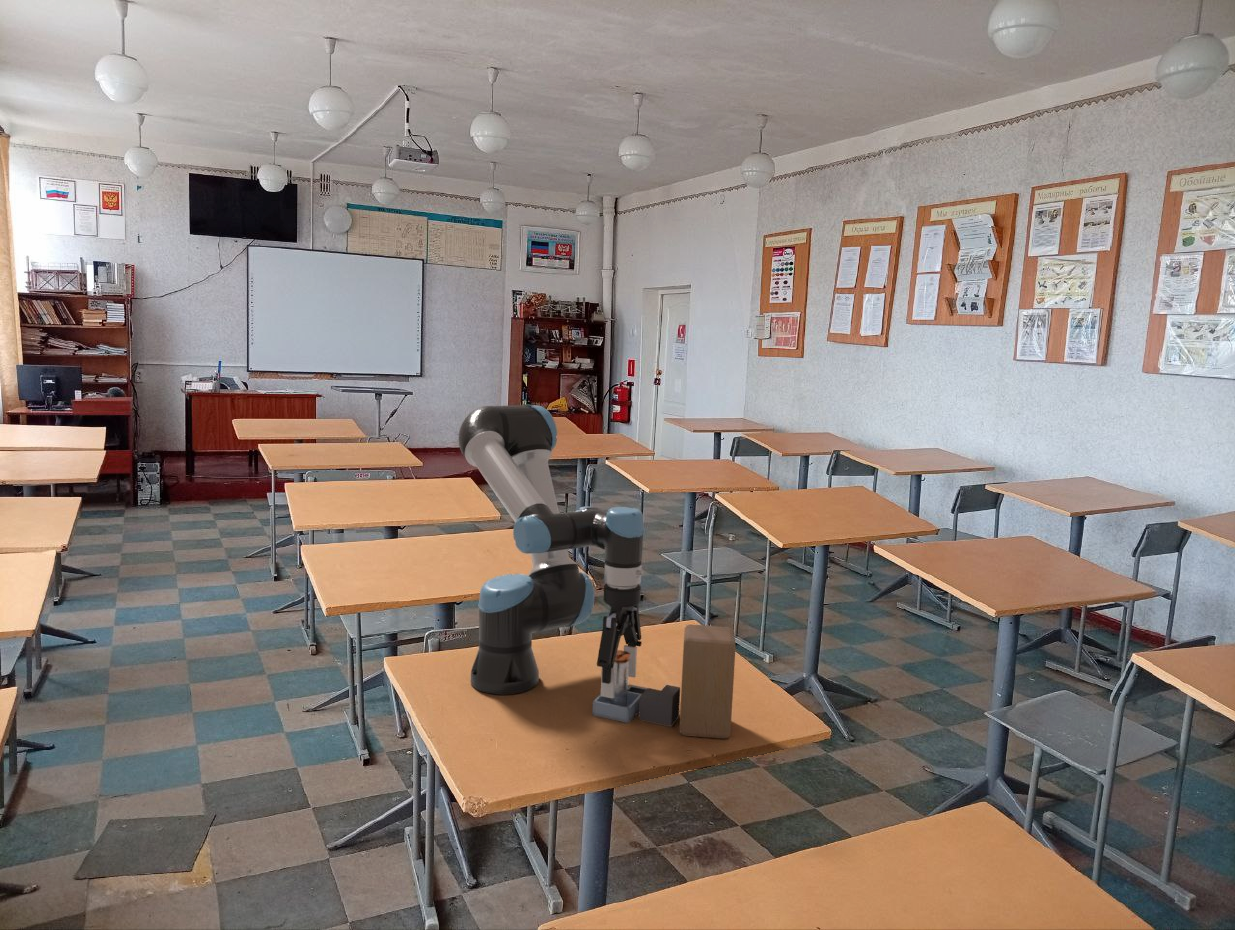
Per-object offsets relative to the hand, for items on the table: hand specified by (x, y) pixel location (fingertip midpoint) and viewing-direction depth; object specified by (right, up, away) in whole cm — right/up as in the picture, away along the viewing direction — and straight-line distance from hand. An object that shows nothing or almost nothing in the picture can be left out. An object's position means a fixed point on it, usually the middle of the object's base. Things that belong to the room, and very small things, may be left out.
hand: (618, 685), depth 180 cm
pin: (0, -5, +1) cm, 5 cm away
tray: (0, -6, +1) cm, 6 cm away
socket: (+4, -5, +7) cm, 9 cm away
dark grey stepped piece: (+8, -6, -2) cm, 10 cm away
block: (+17, -7, -5) cm, 19 cm away
